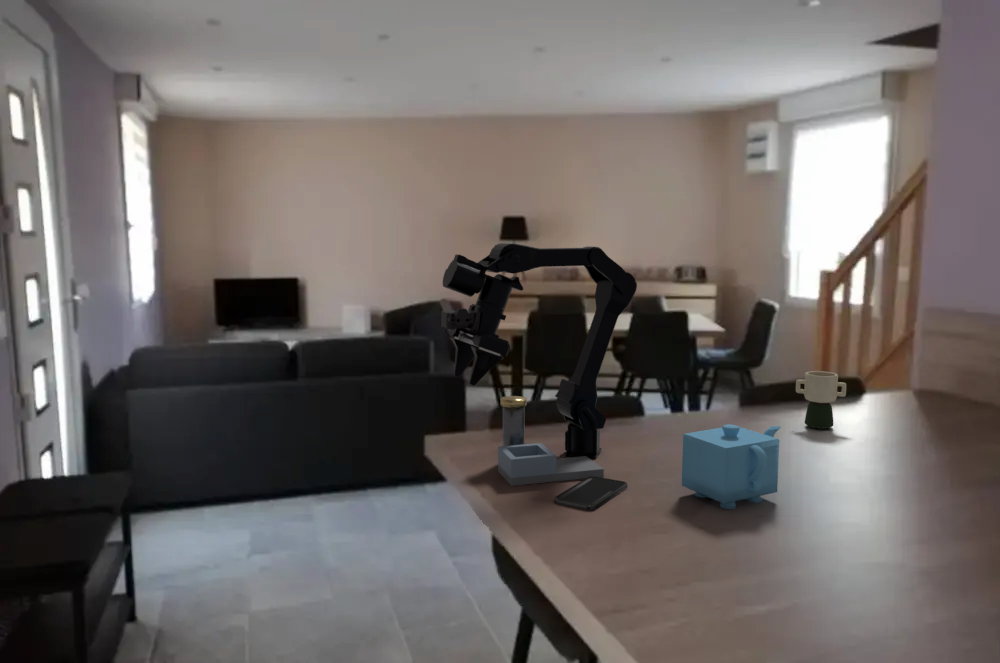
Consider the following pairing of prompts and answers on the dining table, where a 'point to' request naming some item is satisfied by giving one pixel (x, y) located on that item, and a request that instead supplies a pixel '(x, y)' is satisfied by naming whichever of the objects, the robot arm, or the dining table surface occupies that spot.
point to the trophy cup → (820, 397)
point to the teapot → (731, 464)
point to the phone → (591, 493)
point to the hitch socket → (542, 465)
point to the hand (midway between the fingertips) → (463, 380)
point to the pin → (513, 420)
